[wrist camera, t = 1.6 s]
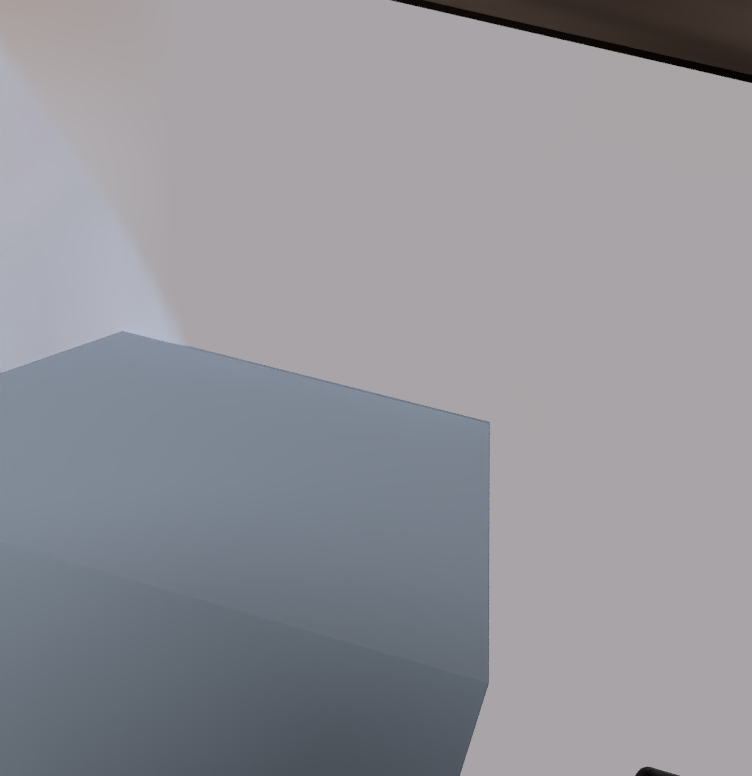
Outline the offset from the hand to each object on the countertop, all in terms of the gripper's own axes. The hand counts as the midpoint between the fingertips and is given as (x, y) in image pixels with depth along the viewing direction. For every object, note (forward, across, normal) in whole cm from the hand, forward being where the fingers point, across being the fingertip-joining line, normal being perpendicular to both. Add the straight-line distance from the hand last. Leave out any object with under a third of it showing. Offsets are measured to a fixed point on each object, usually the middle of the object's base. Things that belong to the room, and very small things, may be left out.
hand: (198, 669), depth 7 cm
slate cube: (+3, 0, 0) cm, 3 cm away
